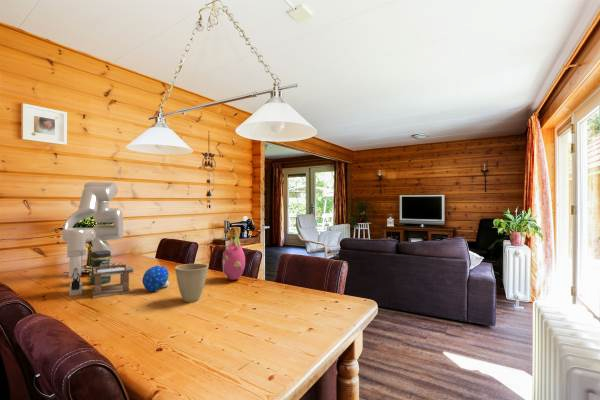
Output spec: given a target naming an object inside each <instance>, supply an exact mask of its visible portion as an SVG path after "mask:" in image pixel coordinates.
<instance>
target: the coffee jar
mask: <svg viewBox="0 0 600 400" xmlns="http://www.w3.org/2000/svg"><path fill="white" fill-rule="evenodd" d="M111 253H112V252H111V250H110V251H108V250H101V251H94V252H93V251H92V252H91V256H90V260H91V272H90V273H91V276H90V281H89V282H90V284H91V285H93V286H94V280H95V276H94V273H93V267H103V266H111V258H112V254H111ZM106 269H111V268H106ZM100 270H102V269H100ZM111 276H112V275H107V276H101V285H102V284H108V283H110V282H111V281H112V280H111Z"/></svg>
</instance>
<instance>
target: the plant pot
mask: <svg viewBox="0 0 600 400" xmlns="http://www.w3.org/2000/svg"><path fill="white" fill-rule="evenodd" d="M208 269H209V265H208V264H206V263H205V264H204V263H186V264H181V265H180V264H178V265H176V266H175V276H176V282H177V286H178V290H179V292H180V296H181V298H182V301H183V302H185V303H194V302H198V301H199V300H200V298H201V296H202V293H203V292H204V291H203V290H204V287H205V284H206V280H207V274H208Z"/></svg>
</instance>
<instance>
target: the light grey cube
mask: <svg viewBox="0 0 600 400" xmlns="http://www.w3.org/2000/svg"><path fill="white" fill-rule="evenodd" d="M71 285H72V282H71V283H69V296H70V297H71V295H72V296H78V294H79V295H83V281H80V288H79V289H78V290H71Z"/></svg>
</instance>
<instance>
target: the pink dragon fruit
mask: <svg viewBox="0 0 600 400" xmlns="http://www.w3.org/2000/svg"><path fill="white" fill-rule="evenodd" d="M221 262H222V272H223V278H226V277H227V278H228V279H229V280H231V281H236V280H238V279H239V278H241V276H242V275H243V273H244V270H245V267H246V256H245V252H244V250H243V248H242V246H241V243H240V237H239V232H238V229H236V230H235V235H234V239H233V237H230V240H229V245H226V246H225V250H224V251H223V253H222V261H221Z"/></svg>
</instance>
